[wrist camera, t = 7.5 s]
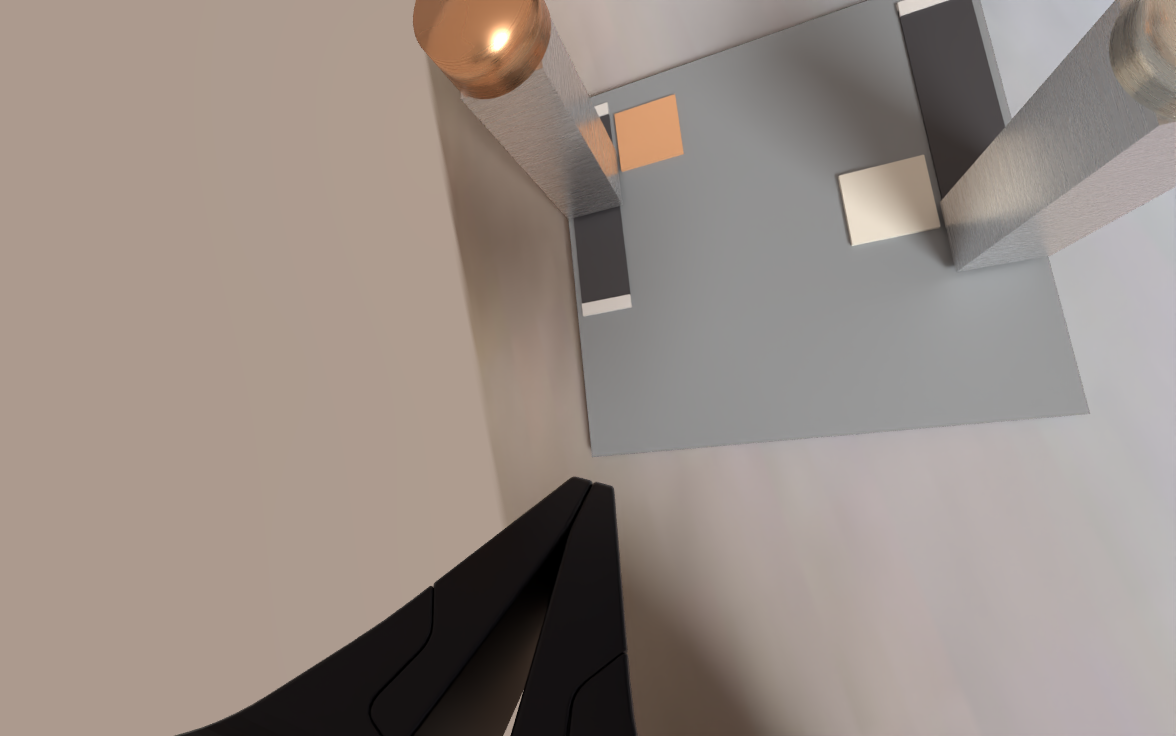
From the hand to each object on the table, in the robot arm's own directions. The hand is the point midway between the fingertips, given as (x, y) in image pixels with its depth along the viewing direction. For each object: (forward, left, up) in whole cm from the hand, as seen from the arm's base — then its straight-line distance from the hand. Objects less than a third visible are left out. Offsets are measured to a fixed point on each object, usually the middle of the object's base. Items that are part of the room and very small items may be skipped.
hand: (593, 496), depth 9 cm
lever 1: (+9, +10, -12) cm, 18 cm away
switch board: (+10, +1, -12) cm, 16 cm away
